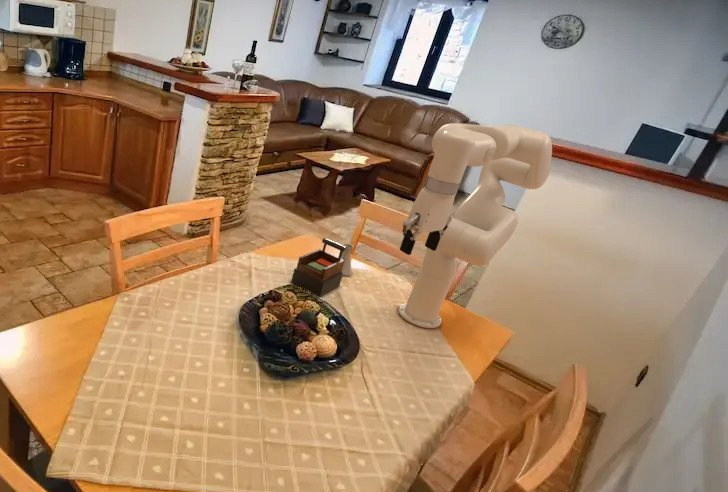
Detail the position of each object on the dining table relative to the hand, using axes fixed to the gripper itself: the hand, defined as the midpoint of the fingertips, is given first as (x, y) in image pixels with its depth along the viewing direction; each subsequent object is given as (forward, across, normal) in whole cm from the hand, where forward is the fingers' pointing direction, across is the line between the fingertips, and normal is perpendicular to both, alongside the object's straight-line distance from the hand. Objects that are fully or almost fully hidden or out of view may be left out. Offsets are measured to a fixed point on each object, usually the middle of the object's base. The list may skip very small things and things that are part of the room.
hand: (417, 250), depth 128 cm
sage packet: (+21, +4, -29) cm, 36 cm away
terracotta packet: (+21, -1, -31) cm, 37 cm away
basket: (+21, +1, -30) cm, 37 cm away
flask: (+27, -15, -35) cm, 47 cm away
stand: (+26, +1, -30) cm, 40 cm away
